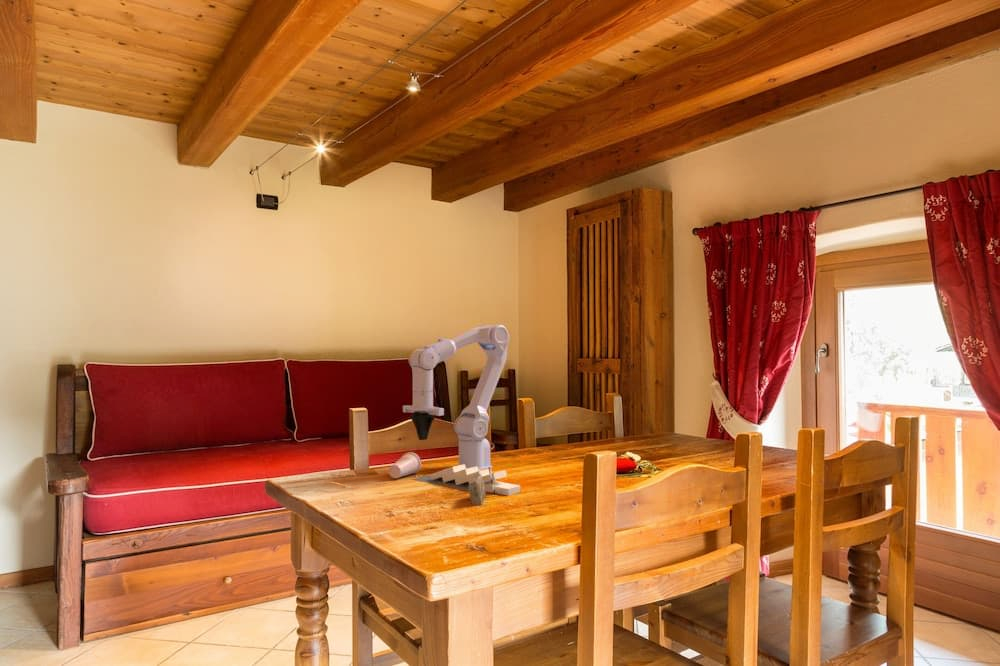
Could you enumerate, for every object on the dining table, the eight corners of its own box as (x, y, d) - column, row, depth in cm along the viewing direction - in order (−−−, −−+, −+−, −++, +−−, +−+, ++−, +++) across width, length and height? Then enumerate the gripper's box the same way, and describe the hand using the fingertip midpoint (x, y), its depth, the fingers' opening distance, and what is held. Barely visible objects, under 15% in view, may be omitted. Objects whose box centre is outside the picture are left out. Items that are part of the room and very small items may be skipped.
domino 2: (441, 476, 170) (465, 468, 165) (454, 473, 174) (477, 466, 169) (443, 482, 170) (466, 475, 164) (455, 479, 174) (479, 472, 168)
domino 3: (454, 479, 167) (478, 471, 162) (467, 476, 171) (490, 468, 166) (456, 485, 167) (480, 477, 162) (468, 482, 171) (492, 474, 165)
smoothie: (409, 477, 172) (432, 464, 185) (398, 456, 173) (421, 444, 186) (391, 487, 174) (415, 473, 187) (380, 466, 175) (405, 454, 188)
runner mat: (437, 474, 182) (437, 473, 182) (508, 488, 165) (508, 486, 165) (411, 480, 174) (411, 479, 174) (483, 495, 157) (483, 493, 157)
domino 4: (468, 481, 164) (493, 472, 159) (480, 478, 168) (505, 469, 162) (470, 487, 164) (495, 479, 158) (482, 484, 167) (507, 476, 162)
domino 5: (480, 483, 161) (508, 489, 156) (493, 480, 165) (520, 485, 159) (480, 490, 161) (508, 495, 156) (493, 486, 165) (520, 492, 159)
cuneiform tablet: (495, 495, 158) (491, 507, 146) (477, 498, 158) (472, 510, 146) (489, 466, 158) (485, 476, 146) (472, 470, 159) (466, 480, 147)
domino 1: (430, 474, 173) (452, 466, 168) (442, 471, 177) (464, 464, 171) (431, 480, 173) (454, 472, 167) (443, 477, 176) (466, 469, 171)
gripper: (394, 391, 181) (394, 438, 181) (431, 393, 172) (431, 443, 172) (412, 389, 187) (412, 435, 187) (449, 391, 178) (449, 440, 178)
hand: (422, 439), depth 180 cm, fingers closed
